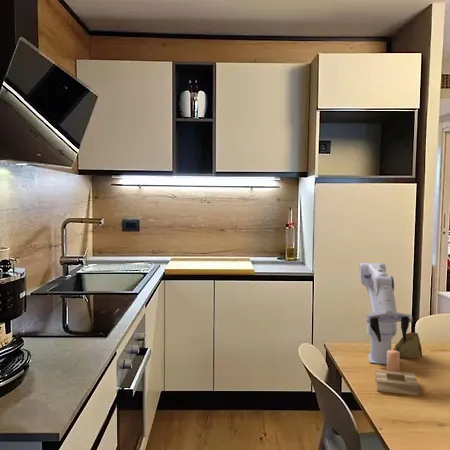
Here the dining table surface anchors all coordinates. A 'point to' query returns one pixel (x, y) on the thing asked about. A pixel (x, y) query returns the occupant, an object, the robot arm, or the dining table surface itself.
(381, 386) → the socket block
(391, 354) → the peg
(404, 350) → the rock
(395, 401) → the dining table surface
